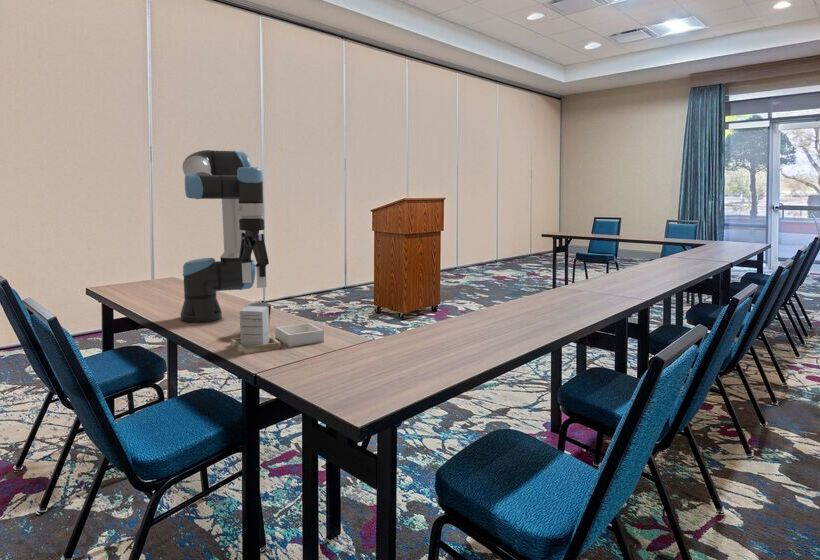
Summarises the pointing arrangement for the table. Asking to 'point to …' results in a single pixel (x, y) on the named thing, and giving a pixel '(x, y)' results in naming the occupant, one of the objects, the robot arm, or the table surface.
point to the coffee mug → (262, 306)
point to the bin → (299, 334)
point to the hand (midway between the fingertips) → (254, 285)
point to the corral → (257, 348)
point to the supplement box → (254, 326)
